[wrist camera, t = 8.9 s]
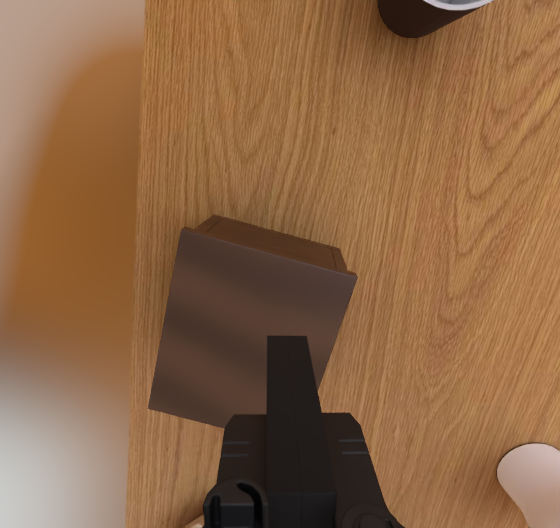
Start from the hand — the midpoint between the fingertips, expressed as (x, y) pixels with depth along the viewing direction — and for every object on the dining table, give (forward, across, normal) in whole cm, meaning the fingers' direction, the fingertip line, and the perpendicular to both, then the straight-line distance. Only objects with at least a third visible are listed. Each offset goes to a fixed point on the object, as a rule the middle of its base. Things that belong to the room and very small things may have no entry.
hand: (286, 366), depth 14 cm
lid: (+14, -2, -7) cm, 16 cm away
